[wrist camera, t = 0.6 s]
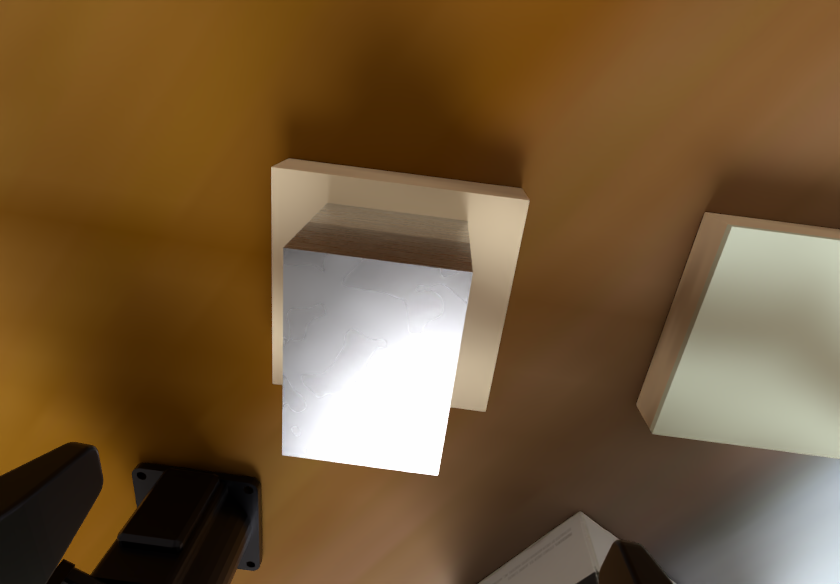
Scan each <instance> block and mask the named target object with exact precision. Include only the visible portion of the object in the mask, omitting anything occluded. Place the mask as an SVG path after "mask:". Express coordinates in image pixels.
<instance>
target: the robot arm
mask: <svg viewBox="0 0 840 584" xmlns="http://www.w3.org/2000/svg"><path fill="white" fill-rule="evenodd" d="M132 478H133V484H134V491H135V497H136V503H137V509H136V510H135V512H134V513H133V514H132V516H131V517H130V519H129V520H128V521H127V523H126V524H125V525H124V527H123V528H122V530H121V531H120V532H119V534H118V536H117V539H116V540H115V541H114V543H113V544H112V546H111V547H110V548H109V550H108V551H107V553H106V554H105V555H104V557H103V558H102V559H101V561H100V562H99V564H98V565H97V566H96V568H95V569H94V570H93V572H92V573H91V575H89V574H87V573H85V572H83V571H81V570H79V569H77V568H75V564H73V563H71V562H69V561H67V560H65V559H63V560H62V562H61V563H60V564H59V562H60V560H61V559H62V557H63V555H64V553H65V552H66V550H67V548H68V547H69V545H70V543H71V542H72V540H73V538H74V536H75V535H76V533H77V531H78V530H79V528H80V526H81V524H82V523H83V521H84V519H85V518H86V516H87V514H88V512H89V511H90V509H91V507H92V506H93V504H94V502H95V501H96V499H97V497H98V495H99V493H100V491H101V489H102V485H103V474H102V469H101V464H100V458H99V453H98V450H97V448H96V447H95V446H93V445H89V444H83V443H78V442H70V443H67V444H64V445H62V446H60V447H58V448H56V449H54V450H52V451H50V452H48V453H46V454H44V455H42V456H40V457H38V458H36V459H34V460H32V461H30V462H28V463H26V464H24V465H22V466H20V467H17V468H15V469H13V470H11V471H9V472H7V473H5V474H3V475H1V476H0V584H230V583H231V581H232V579H233V576H234V574H235V572H236V570H237V569H243V570H251V571H254V570H257V569H258V568H259V567H260V564H261V562H262V520H261V484H260V482H259V481H258V480H257V479H255V478H253V477H247V476H240V475H232V474H225V473H217V472H210V471H202V470H195V469H187V468H180V467H173V466H165V465H158V464H150V463H140V464H138V465H137V467H136V468H135V469H134V470H133V472H132ZM249 487H251V488H249ZM58 564H59V565H58ZM57 565H58V566H57ZM599 584H673V582H672V581H671V580H670V579H669V577H668V576H667V575H666V574H665V573H664V571H663V570H662V569H661V568H660V566H659V565H658V564H657V563H656V561H655V560H654V559H653V558H652V557H651V555H650V554H649V553H648V552H647V550H646V549H645V548H644V547H643V546H642V545H640V544H639V543H636V542H630V541H625V540H616V541H614V542H613V543H612V545H611V547H610V549H609V551H608V553H607V555H606V558H605V560H604V562H603V564H602V566H601V568H600V571H599Z"/></svg>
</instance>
